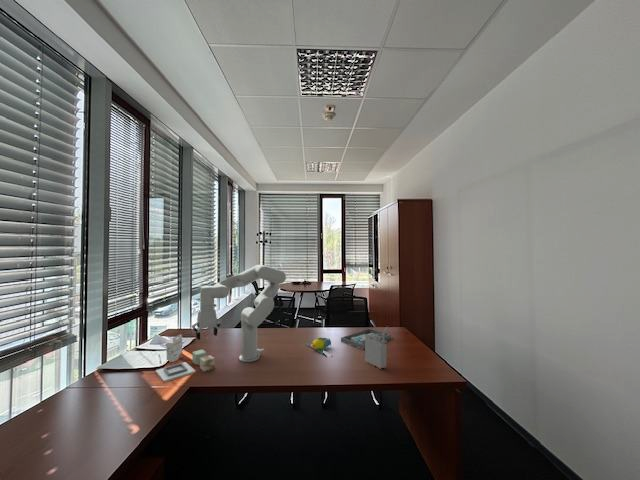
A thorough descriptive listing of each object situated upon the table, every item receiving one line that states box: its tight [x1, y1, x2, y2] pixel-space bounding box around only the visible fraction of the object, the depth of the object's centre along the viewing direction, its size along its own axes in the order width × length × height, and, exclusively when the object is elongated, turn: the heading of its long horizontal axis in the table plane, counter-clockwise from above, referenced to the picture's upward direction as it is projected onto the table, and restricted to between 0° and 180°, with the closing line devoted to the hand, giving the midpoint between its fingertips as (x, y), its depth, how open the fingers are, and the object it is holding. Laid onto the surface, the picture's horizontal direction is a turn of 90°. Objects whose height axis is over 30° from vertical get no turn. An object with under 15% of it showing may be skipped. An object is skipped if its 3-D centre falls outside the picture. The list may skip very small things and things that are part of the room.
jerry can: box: [364, 326, 390, 368], centre depth 169 cm, size 15×5×25 cm, turn 35°
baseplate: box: [155, 361, 196, 383], centre depth 160 cm, size 16×16×2 cm
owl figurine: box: [304, 337, 332, 355], centre depth 194 cm, size 28×9×15 cm
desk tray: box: [340, 327, 392, 350], centre depth 212 cm, size 33×21×3 cm, turn 133°
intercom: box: [350, 333, 385, 345], centre depth 212 cm, size 13×4×25 cm
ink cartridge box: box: [165, 333, 183, 363], centre depth 177 cm, size 9×5×15 cm, turn 168°
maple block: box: [199, 354, 216, 372], centre depth 165 cm, size 6×6×6 cm
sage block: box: [192, 349, 207, 365], centre depth 174 cm, size 6×6×6 cm
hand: (207, 337), depth 165 cm, fingers open, 9 cm apart
